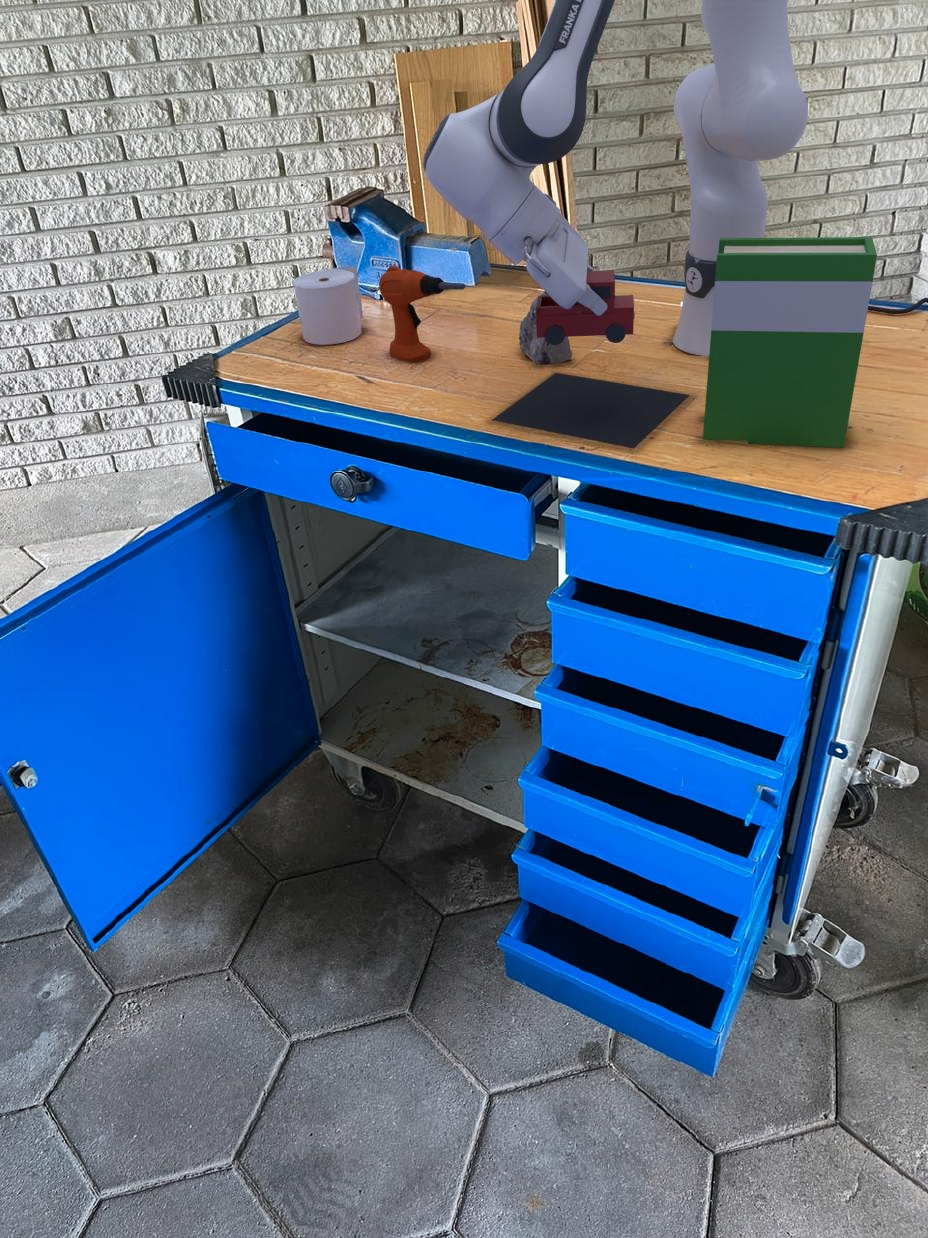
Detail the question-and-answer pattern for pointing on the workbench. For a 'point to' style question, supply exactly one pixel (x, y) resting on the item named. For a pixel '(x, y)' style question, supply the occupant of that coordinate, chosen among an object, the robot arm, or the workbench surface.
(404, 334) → the toy drill
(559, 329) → the toy pickup truck
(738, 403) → the hardback book
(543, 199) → the robot arm
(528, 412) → the mat
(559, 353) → the mineral rock
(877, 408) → the workbench surface
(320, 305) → the toilet tissue
